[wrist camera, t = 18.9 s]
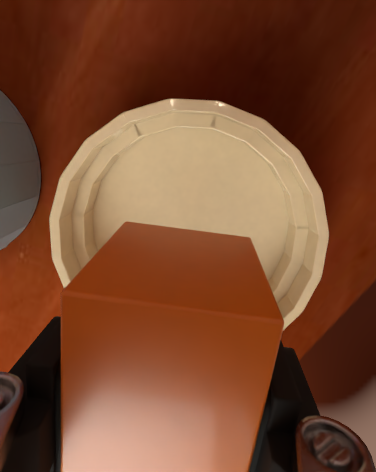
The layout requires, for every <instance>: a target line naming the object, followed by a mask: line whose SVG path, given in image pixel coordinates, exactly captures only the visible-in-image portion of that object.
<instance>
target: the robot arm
mask: <svg viewBox="0 0 376 472" xmlns="http://www.w3.org/2000/svg"><path fill="white" fill-rule="evenodd" d="M0 472H61V317H58V316H57V317H54V318H53V319H52V320H51V321H50V323H49V324H48V325H47V326H46V327H45V329H44V330H43V331H42V332H41V333H40V335H39V336H38V337H37V338H36V339H35V341H34V342H33V343H32V344H31V346H30V347H29V348H28V349H27V350H26V352H25V353H24V354H23V355H22V356H21V358H20V359H19V360H18V361H17V363H16V364H15V365H14V366H13V367H12V369H11V370H10V371H9V372H0ZM249 472H376V469H375V466H374V463H373V460H372V456H371V454H370V452H369V450H368V448H367V446H366V445H365V443H364V442H363V441H362V440H361V438H360V437H359V436H358V435H357V434H356V433H355V432H353V431H352V430H351V429H350V428H349V427H347V426H345V425H344V424H342V423H340V422H339V421H336V420H334V419H331V418H329V417H324V416H320V414H319V411H318V409H317V406H316V403H315V401H314V398H313V396H312V393H311V391H310V388H309V386H308V383H307V381H306V378H305V376H304V373H303V371H302V368H301V366H300V363H299V361H298V358H297V355H296V353H295V351H294V349H292V348H287V347H283V344H282V342H281V340H280V344H279V349H278V353H277V357H276V361H275V365H274V369H273V374H272V378H271V382H270V386H269V390H268V395H267V399H266V403H265V407H264V411H263V415H262V420H261V424H260V428H259V432H258V436H257V440H256V445H255V449H254V453H253V457H252V461H251V465H250V470H249Z"/></svg>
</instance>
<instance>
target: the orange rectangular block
mask: <svg viewBox="0 0 376 472" xmlns="http://www.w3.org/2000/svg"><path fill="white" fill-rule="evenodd" d="M283 328H284V320H283V317H282V315H281V312H280V310H279V307H278V305H277V302H276V300H275V297H274V295H273V292H272V290H271V287H270V285H269V282H268V280H267V277H266V275H265V272H264V270H263V267H262V265H261V262H260V260H259V257H258V255H257V252H256V250H255V247H254V245H253V242H252V240H251V238H249V237H243V236H236V235H228V234H220V233H213V232H205V231H197V230H189V229H182V228H174V227H166V226H159V225H151V224H143V223H136V222H128V221H126V222H124V223H123V224H122V226H121V227H120V228H119V229H118V230H117V231H116V232H115V233H114V234H113V235H112V237H111V238H110V239H109V240H108V241H107V242H106V243H105V244H104V245H103V246H102V248H101V249H100V250H99V251H98V252H97V253H96V254H95V255H94V256H93V257H92V259H91V260H90V261H89V262H88V263H87V264H86V265H85V266H84V267H83V268H82V270H81V271H80V272H79V273H78V274H77V275H76V276H75V277H74V278H73V279H72V280H71V282H70V283H69V284H68V285H67V286H66V287H65V288H64V289H63V290H62V292H61V472H249V470H250V465H251V461H252V457H253V453H254V449H255V445H256V440H257V436H258V432H259V428H260V424H261V420H262V415H263V411H264V407H265V403H266V399H267V395H268V390H269V386H270V382H271V378H272V374H273V369H274V365H275V361H276V357H277V353H278V349H279V344H280V340H281V336H282V332H283Z"/></svg>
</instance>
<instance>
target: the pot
mask: <svg viewBox="0 0 376 472" xmlns="http://www.w3.org/2000/svg"><path fill="white" fill-rule="evenodd" d="M40 187H41V170H40V162H39V157H38V153H37V148H36V145H35V142H34V140H33V137H32V134H31V132H30V130H29V128H28V126H27V124H26V122H25V120H24V119H23V117H22V116H21V114H20V113H19V111H18V110H17V108H16V107H15V106H14V104H13V103H12V102H11V101H10V100H9V98H8V97H7V96H6V95H5V94H4V93H3V92H2V91H1V90H0V250H1V249H3V248H5V247H6V246H7V245H8V244H9V243H10V242H12V241H13V240H14V239H15V238H16V237H18V236H19V234H20V233H21V232H22V231H23V230H24V229H25V228H26V226H27V224H28V223H29V221H30V220H31V218H32V216H33V214H34V211H35V209H36V206H37V202H38V199H39V194H40Z"/></svg>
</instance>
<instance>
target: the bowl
mask: <svg viewBox="0 0 376 472" xmlns="http://www.w3.org/2000/svg"><path fill="white" fill-rule="evenodd" d="M126 221H128V222H136V223H143V224H151V225H159V226H166V227H174V228H182V229H189V230H197V231H205V232H213V233H220V234H228V235H236V236H243V237H249V238H251V240H252V242H253V245H254V247H255V250H256V252H257V255H258V257H259V260H260V262H261V265H262V267H263V270H264V272H265V275H266V277H267V280H268V282H269V285H270V287H271V290H272V292H273V295H274V297H275V300H276V302H277V305H278V307H279V310H280V312H281V315H282V317H283V320H284V328H283V330H284V329H285V328H286V327H287V326H288V325H289V324H290V323H291V322H292V321H294V320H295V319H296V318H297V317H298V316H299V315H300V314H301V313H302V312H303V310H304V308H305V306H306V305H307V303H308V301H309V299H310V297H311V295H312V294H313V292H314V290H315V288H316V286H317V285H318V283H319V281H320V279H321V276H322V272H323V267H324V261H325V256H326V250H327V245H328V239H329V230H328V224H327V217H326V211H325V205H324V198H323V193H322V190H321V188H320V186H319V185H318V183H317V181H316V179H315V177H314V175H313V174H312V172H311V170H310V168H309V166H308V164H307V163H306V161H305V159H304V157H303V155H302V153H301V152H300V151H299V150H298V149H297V148H296V147H295V146H294V145H293V144H292V143H291V142H289V141H288V140H287V139H286V138H285V137H284V136H283V135H282V134H280V133H279V132H278V131H277V130H276V129H275V128H274V127H273V126H271V125H270V124H269V123H268V122H267V121H266V120H264V119H263V118H260V117H258V116H255V115H253V114H250V113H248V112H246V111H243V110H241V109H238V108H236V107H233V106H231V105H228V104H226V103H223V102H221V101H219V102H218V101H216V100H196V99H175V98H170V99H165V100H162V101H158V102H155V103H152V104H148V105H145V106H142V107H138V108H135V109H132V110H128V111H125V112H123V113H121V114H120V115H118V116H117V117H115V118H114V119H113V120H111V121H110V122H109V123H107V124H106V125H105V126H103V127H102V128H100V129H99V130H98V131H96V132H95V133H94V134H92V135H91V136H90V137H88V138H87V139H86V140H85V141H84V142H83V144H82V145H81V147H80V148H79V150H78V151H77V153H76V154H75V156H74V157H73V158H72V160H71V161H70V163H69V164H68V166H67V167H66V169H65V170H64V172H63V173H62V175H61V177H60V179H59V183H58V187H57V190H56V194H55V198H54V202H53V206H52V209H51V213H50V218H49V222H50V236H51V249H52V259H53V262H54V265H55V267H56V269H57V272H58V274H59V277H60V279H61V282H62V284H63V287H64V288H65V287H66V286H67V285H68V284H69V283H70V282H71V280H72V279H73V278H74V277H75V276H76V275H77V274H78V273H79V272H80V271H81V270H82V268H83V267H84V266H85V265H86V264H87V263H88V262H89V261H90V260H91V259H92V257H93V256H94V255H95V254H96V253H97V252H98V251H99V250H100V249H101V248H102V246H103V245H104V244H105V243H106V242H107V241H108V240H109V239H110V238H111V237H112V235H113V234H114V233H115V232H116V231H117V230H118V229H119V228H120V227H121V226H122V224H123V223H124V222H126Z"/></svg>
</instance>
